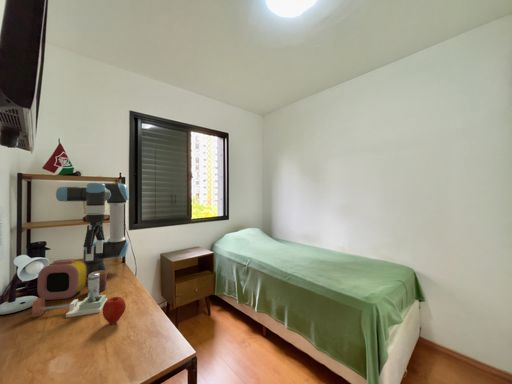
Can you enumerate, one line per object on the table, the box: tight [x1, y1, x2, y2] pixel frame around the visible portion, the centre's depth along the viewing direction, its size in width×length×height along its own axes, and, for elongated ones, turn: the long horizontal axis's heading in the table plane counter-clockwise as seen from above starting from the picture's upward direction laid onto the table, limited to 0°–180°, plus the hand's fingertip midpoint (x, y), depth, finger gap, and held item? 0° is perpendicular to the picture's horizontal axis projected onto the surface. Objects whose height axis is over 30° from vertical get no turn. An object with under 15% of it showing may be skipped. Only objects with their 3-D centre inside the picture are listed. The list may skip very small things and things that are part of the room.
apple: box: [102, 296, 126, 325], centre depth 93 cm, size 9×8×11 cm
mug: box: [85, 270, 109, 293], centre depth 123 cm, size 12×9×10 cm
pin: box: [31, 297, 78, 318], centre depth 100 cm, size 4×16×7 cm, turn 111°
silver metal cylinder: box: [87, 273, 100, 303], centre depth 106 cm, size 4×4×15 cm
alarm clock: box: [36, 258, 87, 301], centre depth 118 cm, size 18×11×19 cm, turn 102°
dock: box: [65, 294, 108, 318], centre depth 105 cm, size 12×13×4 cm
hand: (94, 256), depth 106 cm, fingers open, 13 cm apart
